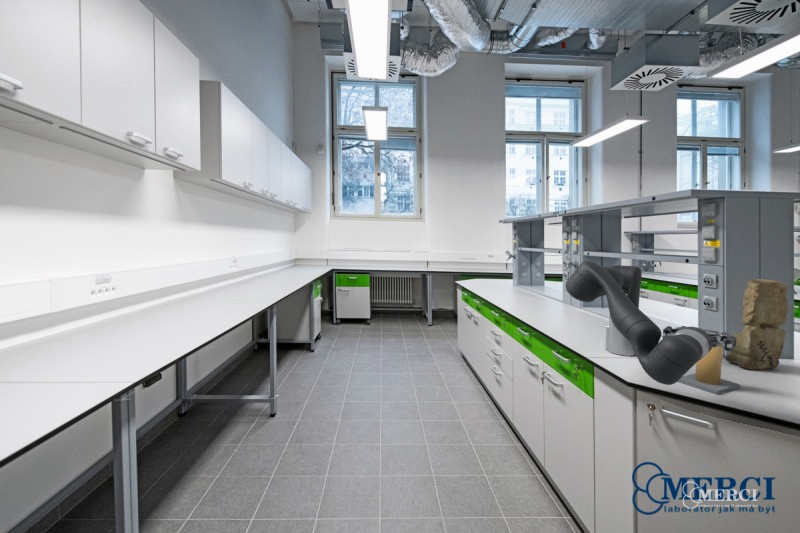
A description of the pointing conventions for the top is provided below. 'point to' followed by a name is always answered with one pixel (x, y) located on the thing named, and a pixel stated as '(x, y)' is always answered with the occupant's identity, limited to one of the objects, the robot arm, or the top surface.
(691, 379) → the mat
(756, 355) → the sculpture
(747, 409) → the top surface
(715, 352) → the bottle
